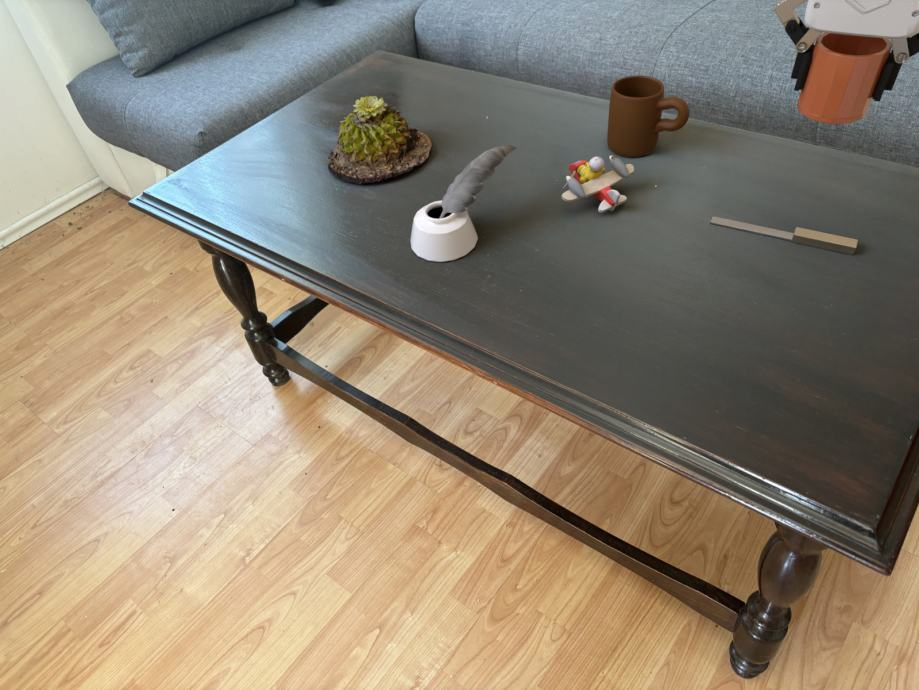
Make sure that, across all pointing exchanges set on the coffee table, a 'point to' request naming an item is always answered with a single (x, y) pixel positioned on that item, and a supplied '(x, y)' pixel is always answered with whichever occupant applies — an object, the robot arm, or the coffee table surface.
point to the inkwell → (454, 212)
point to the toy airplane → (597, 182)
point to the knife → (795, 236)
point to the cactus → (376, 144)
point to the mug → (640, 115)
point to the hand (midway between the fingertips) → (837, 89)
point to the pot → (842, 77)
